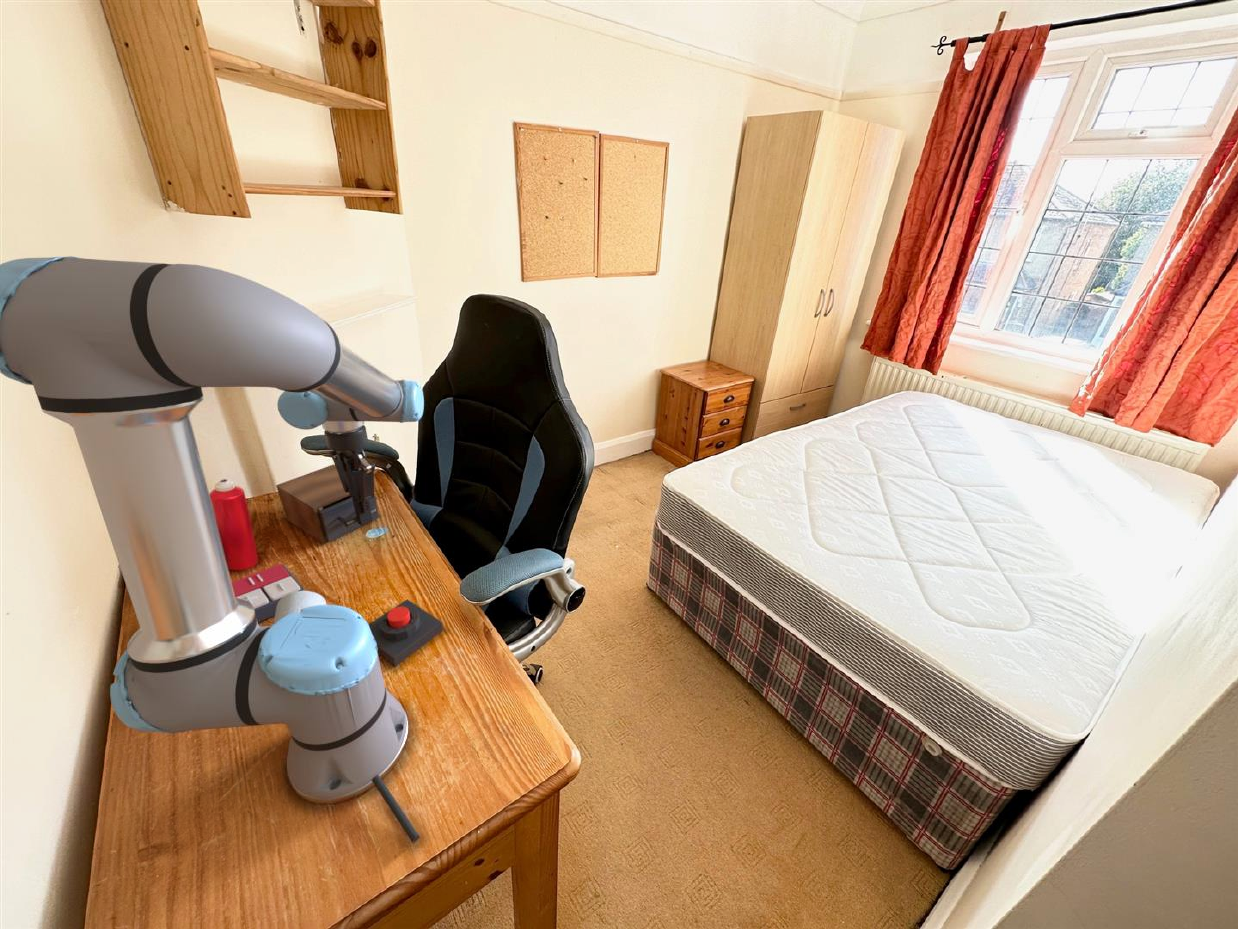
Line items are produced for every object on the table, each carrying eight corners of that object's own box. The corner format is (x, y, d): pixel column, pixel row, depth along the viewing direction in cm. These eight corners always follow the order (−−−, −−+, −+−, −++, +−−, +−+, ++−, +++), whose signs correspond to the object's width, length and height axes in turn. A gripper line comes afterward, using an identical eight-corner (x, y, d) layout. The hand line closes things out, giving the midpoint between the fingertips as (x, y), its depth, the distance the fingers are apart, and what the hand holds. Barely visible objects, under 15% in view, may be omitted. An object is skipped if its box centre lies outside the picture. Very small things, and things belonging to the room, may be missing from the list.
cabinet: (377, 516, 120) (370, 483, 115) (322, 543, 109) (312, 507, 105) (341, 496, 126) (333, 464, 122) (286, 519, 116) (275, 485, 112)
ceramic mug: (275, 660, 81) (264, 627, 78) (282, 626, 88) (272, 594, 84) (346, 643, 85) (338, 611, 82) (348, 611, 92) (340, 581, 88)
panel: (443, 630, 89) (440, 614, 87) (395, 667, 82) (391, 650, 80) (408, 607, 94) (405, 592, 92) (360, 640, 86) (356, 624, 84)
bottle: (220, 563, 100) (198, 481, 91) (248, 550, 105) (230, 471, 96) (236, 574, 98) (215, 491, 89) (264, 560, 103) (247, 480, 94)
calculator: (304, 586, 92) (205, 627, 81) (308, 603, 94) (212, 645, 83) (282, 560, 98) (187, 595, 87) (286, 577, 100) (194, 613, 89)
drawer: (390, 523, 116) (385, 496, 112) (340, 549, 106) (332, 520, 103) (345, 498, 124) (338, 471, 121) (294, 519, 115) (286, 491, 111)
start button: (414, 619, 87) (413, 612, 86) (397, 631, 84) (395, 624, 83) (402, 610, 88) (400, 603, 87) (384, 622, 85) (382, 615, 85)
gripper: (380, 430, 98) (398, 524, 109) (344, 413, 104) (364, 505, 115) (345, 442, 92) (367, 540, 103) (308, 424, 98) (332, 519, 109)
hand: (365, 521), depth 109 cm, fingers closed
